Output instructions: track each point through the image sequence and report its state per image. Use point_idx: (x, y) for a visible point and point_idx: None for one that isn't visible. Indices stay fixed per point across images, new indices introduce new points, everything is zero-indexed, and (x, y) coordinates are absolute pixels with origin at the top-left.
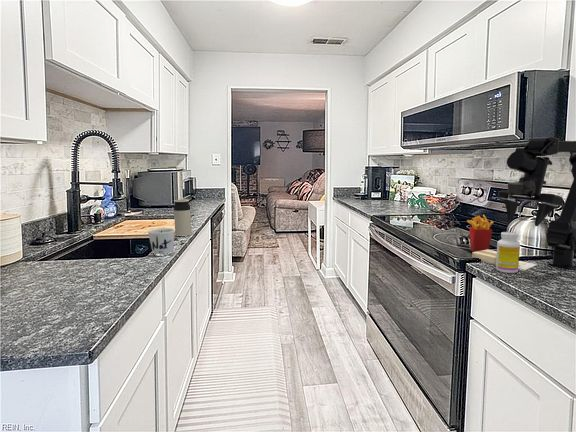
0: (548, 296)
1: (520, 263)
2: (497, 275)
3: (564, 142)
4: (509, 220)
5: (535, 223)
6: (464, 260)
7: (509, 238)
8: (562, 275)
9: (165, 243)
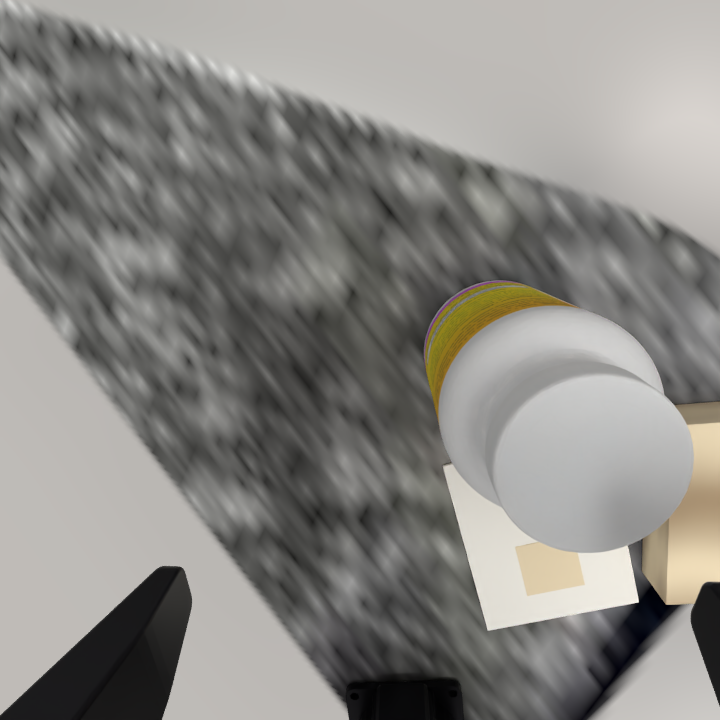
0: (15, 108)
1: (554, 564)
2: (447, 194)
3: None
4: (716, 600)
5: (149, 589)
6: None
7: (518, 384)
8: (273, 549)
9: None
